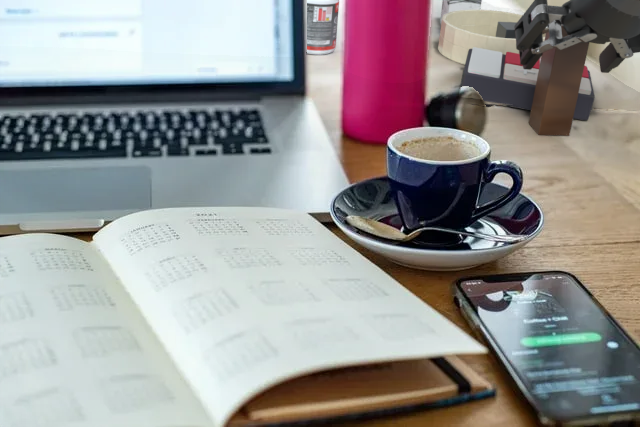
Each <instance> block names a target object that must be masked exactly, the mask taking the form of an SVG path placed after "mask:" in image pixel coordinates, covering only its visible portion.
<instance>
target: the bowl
mask: <svg viewBox="0 0 640 427" xmlns="http://www.w3.org/2000/svg"><path fill="white" fill-rule="evenodd" d="M522 16H523V14H521V13H520V14H519V13H515V12H509V11H501V10H494V9H493V10H492V9H480V10H478V9H472V10H458V11H452V12H449V13H447V14H445V15H443V18H442V23H440V31H439V36H438V46H437V50H438V51H439V53H440V54H441V55H442V56H443V57H445V58H446V59H448V60H450V61H453V62H455V63H458V64H461V65H464V66H465V63H466V59H467V55H468V51H469V49H473V47H476V48H482V49H487V50H492V51H498V52H502V54H504V55H506V52H512V53H518V54H519V50H517V49H516V39H512V38H500V37H496V31H497V25H498V22H518V21H519V19H520V18H521V17H522ZM545 35H546V33H545V34H543V35H542V36H543V41H545ZM540 58H541V57H540Z"/></svg>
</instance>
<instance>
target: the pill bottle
mask: <svg viewBox="0 0 640 427" xmlns="http://www.w3.org/2000/svg"><path fill="white" fill-rule="evenodd" d="M339 9H340V0H307V53H306V55H319V56H320V55H321V56H322V55H328V54H331V53H333V52H334V51H335V50H336V46H337V34H338V20H339Z"/></svg>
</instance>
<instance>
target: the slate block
mask: <svg viewBox="0 0 640 427" xmlns="http://www.w3.org/2000/svg"><path fill="white" fill-rule="evenodd" d="M516 23H517V22H498V25H497V31H496V37H500V38H512V39H516V35H515V30H514V26H515V24H516Z"/></svg>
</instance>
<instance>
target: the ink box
mask: <svg viewBox="0 0 640 427" xmlns="http://www.w3.org/2000/svg"><path fill="white" fill-rule="evenodd" d="M482 1H483V0H442V1H441V11H440V20H439V23H440V24H441V23H442V18H443V15H445V14H447V13H449V12H452V11H458V10H472V9H478V10H482V9H481V8H482Z"/></svg>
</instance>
